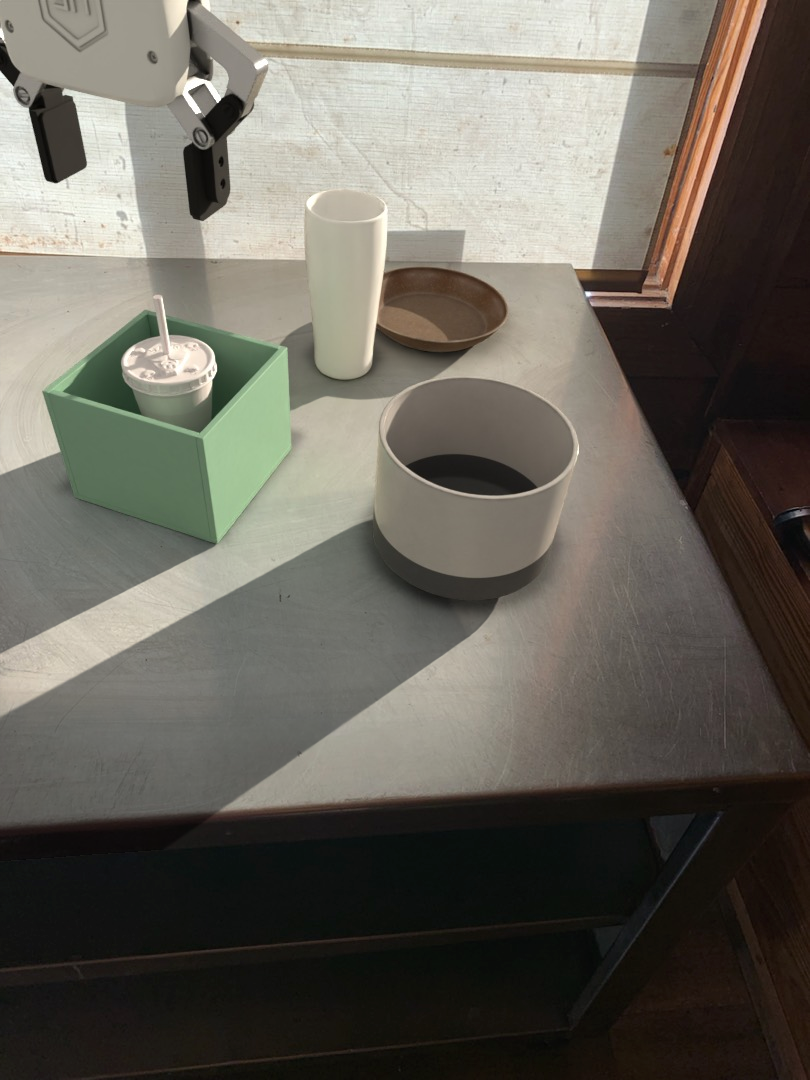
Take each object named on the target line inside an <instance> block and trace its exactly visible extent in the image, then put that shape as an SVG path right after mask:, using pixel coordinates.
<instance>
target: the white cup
mask: <svg viewBox="0 0 810 1080" xmlns="http://www.w3.org/2000/svg"><path fill="white" fill-rule="evenodd" d="M303 223H304V224H303V239H304V240H303V243H304V258H305V269H306V278H307V287H308V295H309V305H310V315H311V324H312V333H313V345H314V347H313V348H314V364H315V365H316V368H317V369H318V371H319V372H320V373H321V374H323V375H325V377H326V376H327V377H328V378H331V379H334V380H339V381H343V380H344V381H347V380H354V379H358V378H361V377H363V376H365V375H366V374H367V373H369V371H370V370H371V368H372V366H373V360H374V344H375V337H376V329H377V327H376V323H377V316H378V308H379V301H380V294H381V288H382V281H383V274H384V272H385V265H386V258H387V257H386V256H387V243H388V206H387V204H386V203H385V201H384V200H383V199H381V198H380V197H378V196H377V195H374V194H372V193H369V192H367V191H366V192H365V191H363V190H356V189H347V188H336V189H327V190H322V191H319V192H315V193H314V194H312V195H310V196H309V197H308V198H307V199H306V201H305V203H304V219H303Z"/></svg>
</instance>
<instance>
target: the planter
mask: <svg viewBox="0 0 810 1080" xmlns="http://www.w3.org/2000/svg"><path fill="white" fill-rule="evenodd" d="M579 447H580V446H579V439H578V436H577V433H576V429H575V428H574V426H573V424H572V422H571V421H570V420H569V418H568V417H567V416H566V414H564V413H563V411H561V410H560V408H558V406H556V405H555V404H554V403H553V402H551V401H550V400H548V399H547V398H545V397H543V396H542V395H540V394H539V393H537V392H534V391H533V390H530V389H528V388H527V387H525V386H522V385H519V384H517V383H514V382H510V381H507V380H502V379H497V378H494V377H487V376H479V375H447V376H440V377H435V378H431V379H427V380H422V381H420V382H418V383H414V384H413V385H409V386H408V387H406V388H404V389H403V390H402V391H400V392H398V393H397V394H396V395H394V397H392V398H391V399H390V400H389V401H388V403H387V404H386V405H385V407H384V408H383V410H382V412H381V414H380V417H379V421H378V435H377V449H376V450H377V453H376V466H375V467H376V469H375V484H374V485H375V487H374V500H373V501H374V502H373V503H374V504H373V520H372V536H373V541H374V544H375V547H376V549H377V552H378V554H379V555H380V557H381V559H382V560H383V562H384V563H385V564H386V565H387V567H388V568H389V569H391V571H392V572H394V573H395V575H397V576H398V577H400V578H401V579H402V580H403V581H405V582H406V583H408V584H410V585H411V586H413V587H415V588H417V589H420V590H421V591H423V592H426V593H428V594H431V595H434V596H438V597H442V598H446V599H451V600H460V601H485V600H492V599H496V598H501V597H505V596H507V595H511V594H514V593H515V592H518V591H520V590H521V589H523V588H524V587H526V586H528V585H529V584H530V583H532V582H533V581H534V580H535V579H536V578H537V577H538V576H539V574H540V573H541V572H542V571H543V569H545V566H546V564H547V562H548V560H549V556H550V554H551V550H552V547H553V542H554V541H555V540H554V539H555V536H556V533H557V529H558V526H559V523H560V519H561V515H562V512H563V508H564V504H565V502H566V499H567V494H568V491H569V487H570V484H571V481H572V477H573V475H574V470H575V466H576V464H577V459H578V457H579V456H578V455H579Z"/></svg>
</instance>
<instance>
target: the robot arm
mask: <svg viewBox="0 0 810 1080" xmlns="http://www.w3.org/2000/svg"><path fill="white" fill-rule="evenodd" d="M215 62H216V63H217V64H218V65H220V66H221V67H222V68H223V69H224V70H225V71H226V73H227V76H228V81H227V84H226V87H225V88H226V90H225V93H224V95H223V97H221V96H220V95H219V93H218V92H217V90H216V88H215V87H214V85H213V84H212V83H211V82H212V81H213V78H214V74H215V73H214V71H215ZM268 70H269V64H268V61H267V59H266V57H264V55H262V54H261V53H260V52H259V51H258V50H257V49H255V48H254V47H253V46H252V45H250V43H248V42H247V41H246V40H245V39H243V37H241V36H240V35H238V33H236V32H235V31H234V30H232V29H231V28H230V27H229V26H228V25H226V23H224V22H223V21H222V20H221V19H220V18H219V17H217V16H216V15H215V14H214V13H212V12H211V5H210V0H0V73H1V74H2V75H3V76H4V77H5V79H6V80H7V81H8V82H9V83H10V85H12V87H13V88H12V91H13V92H12V93H13V96H14V99H15V100H16V102H17V103H18V104H19V105H20V106H21V107H23V108H27V109H28V113H29V118H30V122H31V126H32V130H33V135H34V139H35V143H36V147H37V152H38V156H39V160H40V164H41V168H42V173H43V178H44V179H45V181H46V182H49V183H52V184H58V183H60V182H62V181H64V180H67V179H68V178H71V177H72V176H73V175H76V174H78V173H79V172H81V171H83V170H84V169H86V168H87V165H88V161H87V156H86V155H87V154H86V152H85V150H86V149H85V145H84V140H83V135H82V130H81V125H80V119H79V115H78V109H77V105H76V103H75V101H74V96H73V95H68V94H64V93H63V92H64V90H69V91H73V92H77V93H81V94H86V95H90V96H95V97H99V98H104V99H108V100H113V101H116V102H121V103H126V104H131V105H136V106H140V107H146V108H161V107H165V106H167V107H168V109H169V110H170V112H171V113H172V115H173V116H174V118H175V119H176V121H177V122H178V124H179V125H180V126H181V127H182V129H183V130H184V132H185V134H186V135H187V137H188V138H189V139H190V140H191V143H189V144H188V145H186V146H184V147H183V151H182V156H183V165H184V166H183V167H184V174H185V182H186V183H185V184H186V194H187V201H188V210H189V214H190V216H191V217H192V219H193V220H196V221H200V222H204V221H206V220H208V218H210V217H211V216H212V215H214V214H215V213H217V212H218V211H219V210H221V209H222V208H224V207H225V206H226V205H227V203H228V200H229V197H230V194H231V176H230V164H229V163H230V161H229V148H228V147H229V146H228V137H229V136H231V135H232V134H233V133H234V132H235V131H236V129H237V127H239V126H240V124H241V123H242V122H243V121H244V120H245V119H246V118H247V117H248V116H249V115H250V114H251V113H252V111H253V110H254V109H255V101H256V99H257V98H258V96H259V94H260V91H261V88H262V86H263V83H264V82H265V78H266V76H267V75H268Z"/></svg>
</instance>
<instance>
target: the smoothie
mask: <svg viewBox="0 0 810 1080" xmlns="http://www.w3.org/2000/svg"><path fill="white" fill-rule="evenodd" d="M163 299H164V298H163V295H162V294H155V295H153V303H154V309H155V312H156V315H157V321H158V327H159V333H160V336H158V337H153V338H149V339H146V340H143V341H141V342H138V343H137V344H135V345H133V346H132V347H131V348H129V349H128V350H127V351H126V352H125V354H124V355H123V357H122V360H121V366H122V370H123V373H122V376H123V378H124V380H125V382H126V383H127V384H128V385H129V386H130V387H131V388H132V390H133V393H134V396H135V399H136V401H137V404H138V406H139V409H140V412H141V415H142V416H144V417H148V418H151V419H154V420H158V421H161V422H164V423H168V424H171V425H174V426H178V427H181V428H184V429H188V430H191V431H195V432H198V433H200V432H201V431H202V430H203V429H204V428H205V427H206V426H207V425H208V424H209V423H210V422H211V417H212V379H213V378H214V376H215V374H216V372H217V364H216V362H215V356H214V352H213V351H212V349H211V348H210V347H209V346H208V345H207V344H205V343H204V342H202V341H200V340H197V339H195V338H191V337H187V336H180V335H168V329H167V323H166V317H165V315H166V311H165V306H164V300H163Z"/></svg>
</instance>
